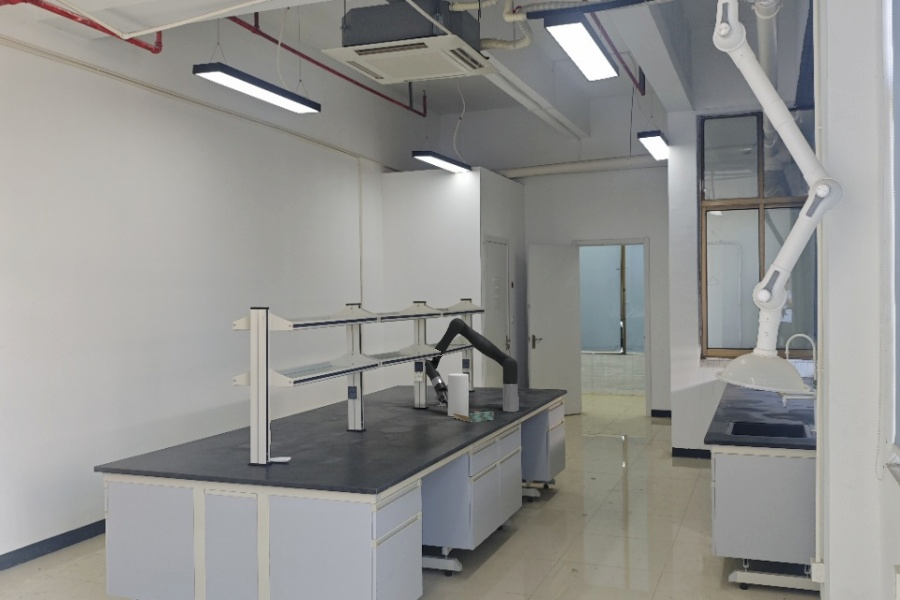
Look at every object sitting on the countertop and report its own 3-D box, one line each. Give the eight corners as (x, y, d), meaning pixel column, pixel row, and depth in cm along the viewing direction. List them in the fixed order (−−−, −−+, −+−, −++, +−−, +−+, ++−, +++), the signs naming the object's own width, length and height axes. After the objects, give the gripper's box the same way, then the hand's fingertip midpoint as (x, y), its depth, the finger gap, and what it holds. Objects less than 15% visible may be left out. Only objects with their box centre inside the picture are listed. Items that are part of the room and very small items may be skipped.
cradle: (475, 416, 470) (475, 407, 470) (493, 420, 456) (493, 411, 455) (453, 418, 461) (453, 410, 461) (471, 422, 446) (471, 414, 446)
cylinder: (444, 414, 474) (444, 373, 474) (462, 413, 479) (463, 373, 479) (453, 417, 463) (453, 376, 462) (471, 416, 468) (472, 375, 468)
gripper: (432, 382, 482) (443, 404, 472) (450, 381, 489) (461, 402, 480) (428, 390, 486) (438, 412, 476) (445, 388, 494) (456, 410, 484)
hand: (450, 407), depth 478 cm, fingers closed
